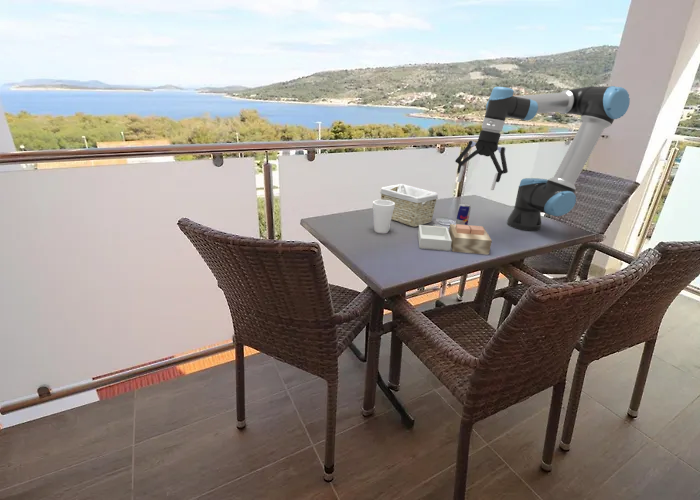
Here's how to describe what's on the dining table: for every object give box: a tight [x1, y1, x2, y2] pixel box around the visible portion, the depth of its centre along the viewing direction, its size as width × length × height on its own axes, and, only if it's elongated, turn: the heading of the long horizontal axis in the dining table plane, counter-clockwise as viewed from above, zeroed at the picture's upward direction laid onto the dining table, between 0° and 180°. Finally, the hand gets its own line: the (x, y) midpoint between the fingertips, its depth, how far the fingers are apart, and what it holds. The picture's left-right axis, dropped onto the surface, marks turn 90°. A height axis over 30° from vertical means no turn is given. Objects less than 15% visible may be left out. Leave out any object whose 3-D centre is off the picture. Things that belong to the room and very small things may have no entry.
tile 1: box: [455, 223, 470, 234], centre depth 151 cm, size 5×5×2 cm
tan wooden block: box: [448, 223, 493, 256], centre depth 153 cm, size 14×16×6 cm
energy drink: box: [455, 202, 472, 225], centre depth 169 cm, size 5×5×12 cm
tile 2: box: [469, 224, 486, 235], centre depth 151 cm, size 5×5×2 cm
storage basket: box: [379, 183, 439, 228], centre depth 180 cm, size 24×16×15 cm
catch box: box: [417, 224, 452, 252], centre depth 154 cm, size 12×16×4 cm
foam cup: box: [372, 199, 395, 234], centre depth 163 cm, size 10×9×13 cm
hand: (475, 185), depth 150 cm, fingers open, 13 cm apart
